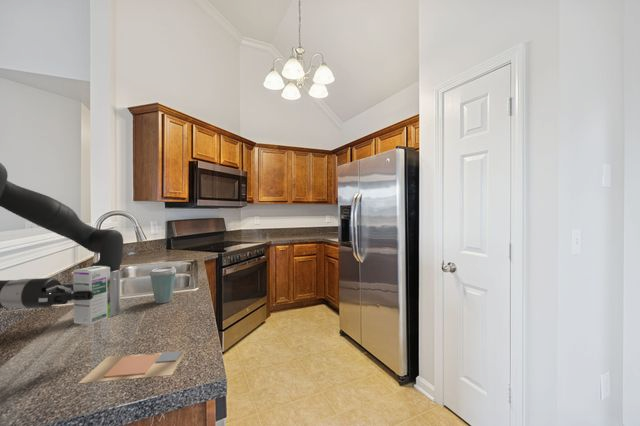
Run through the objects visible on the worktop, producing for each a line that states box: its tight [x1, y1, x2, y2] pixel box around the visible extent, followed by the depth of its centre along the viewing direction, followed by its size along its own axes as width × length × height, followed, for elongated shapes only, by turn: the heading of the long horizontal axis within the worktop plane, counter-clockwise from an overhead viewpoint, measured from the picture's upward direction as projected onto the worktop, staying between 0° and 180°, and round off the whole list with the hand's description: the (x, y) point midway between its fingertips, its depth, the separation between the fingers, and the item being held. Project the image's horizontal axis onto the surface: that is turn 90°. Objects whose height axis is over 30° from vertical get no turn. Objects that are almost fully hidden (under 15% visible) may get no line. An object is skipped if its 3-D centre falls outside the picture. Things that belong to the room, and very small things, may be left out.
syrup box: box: [72, 266, 111, 326], centre depth 77 cm, size 6×6×14 cm
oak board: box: [77, 350, 187, 385], centre depth 72 cm, size 20×12×1 cm, turn 100°
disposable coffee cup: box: [149, 265, 177, 304], centre depth 127 cm, size 11×11×15 cm
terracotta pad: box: [104, 354, 159, 378], centre depth 72 cm, size 9×9×1 cm
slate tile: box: [156, 350, 183, 363], centre depth 76 cm, size 5×5×1 cm
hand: (101, 290), depth 77 cm, fingers closed on syrup box, 7 cm apart
